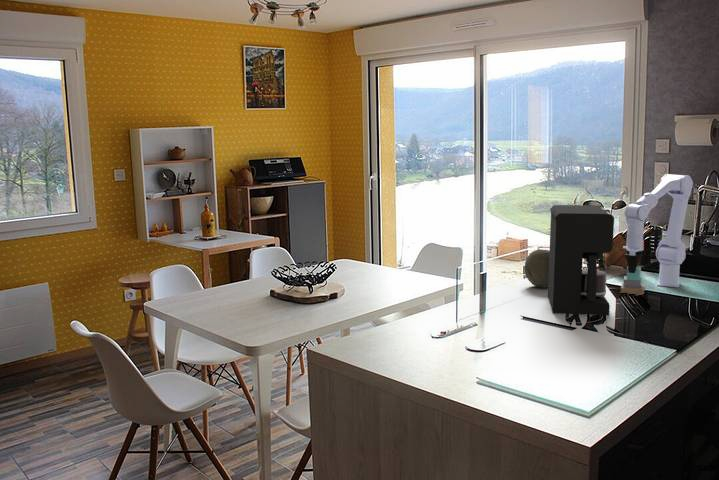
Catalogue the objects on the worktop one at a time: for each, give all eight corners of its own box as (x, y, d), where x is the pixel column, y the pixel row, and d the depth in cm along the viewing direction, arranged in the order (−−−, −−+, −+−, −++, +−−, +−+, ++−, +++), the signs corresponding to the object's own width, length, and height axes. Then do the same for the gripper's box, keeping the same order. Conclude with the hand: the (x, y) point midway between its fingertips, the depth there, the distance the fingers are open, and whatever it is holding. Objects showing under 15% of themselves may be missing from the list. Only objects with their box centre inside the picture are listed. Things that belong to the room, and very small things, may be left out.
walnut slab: (622, 290, 267) (623, 283, 267) (644, 292, 264) (645, 284, 263) (620, 295, 260) (620, 287, 260) (643, 297, 256) (643, 289, 256)
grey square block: (623, 283, 266) (624, 276, 265) (640, 284, 263) (640, 277, 263) (623, 286, 260) (623, 279, 260) (640, 288, 258) (640, 280, 257)
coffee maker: (613, 319, 227) (619, 214, 221) (552, 316, 230) (556, 213, 225) (601, 298, 254) (605, 204, 248) (547, 296, 258) (550, 204, 252)
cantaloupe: (562, 291, 264) (564, 253, 262) (525, 290, 266) (526, 252, 264) (558, 283, 278) (559, 247, 275) (522, 282, 280) (523, 246, 278)
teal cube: (627, 277, 263) (628, 265, 263) (640, 278, 261) (641, 266, 261) (626, 279, 260) (627, 267, 259) (639, 280, 257) (639, 268, 257)
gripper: (625, 232, 266) (623, 266, 268) (621, 238, 253) (619, 273, 256) (645, 233, 263) (643, 267, 265) (642, 239, 250) (639, 275, 253)
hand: (632, 270), depth 260 cm, fingers open, 7 cm apart
